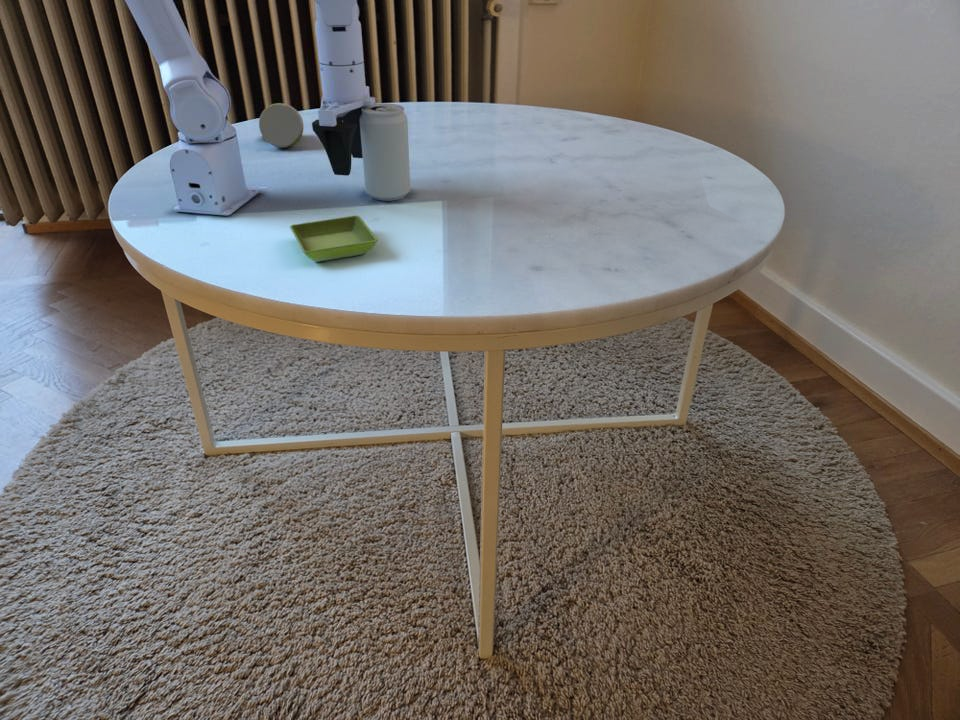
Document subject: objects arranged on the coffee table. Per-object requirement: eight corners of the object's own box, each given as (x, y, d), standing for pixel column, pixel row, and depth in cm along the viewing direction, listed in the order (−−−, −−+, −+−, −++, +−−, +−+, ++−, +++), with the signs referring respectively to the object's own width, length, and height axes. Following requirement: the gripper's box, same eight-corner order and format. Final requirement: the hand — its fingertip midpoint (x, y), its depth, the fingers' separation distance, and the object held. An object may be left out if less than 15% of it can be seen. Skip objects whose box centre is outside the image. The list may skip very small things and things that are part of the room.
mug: (310, 134, 123) (311, 89, 114) (297, 172, 118) (298, 129, 109) (268, 123, 121) (266, 77, 113) (254, 162, 117) (251, 117, 108)
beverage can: (388, 184, 100) (383, 99, 94) (420, 193, 97) (416, 107, 90) (356, 195, 96) (348, 107, 90) (388, 206, 93) (382, 116, 86)
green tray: (291, 240, 83) (288, 224, 82) (360, 229, 86) (358, 214, 85) (305, 269, 76) (303, 252, 75) (380, 256, 79) (378, 240, 78)
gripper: (352, 74, 81) (362, 184, 89) (387, 53, 93) (393, 152, 101) (296, 71, 82) (311, 181, 90) (338, 51, 94) (348, 149, 102)
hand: (351, 165), depth 95 cm, fingers open, 7 cm apart
